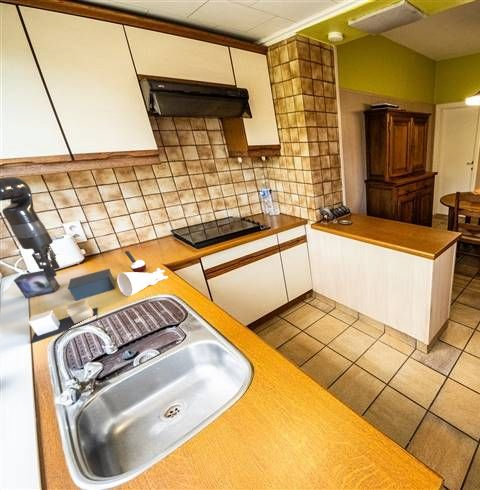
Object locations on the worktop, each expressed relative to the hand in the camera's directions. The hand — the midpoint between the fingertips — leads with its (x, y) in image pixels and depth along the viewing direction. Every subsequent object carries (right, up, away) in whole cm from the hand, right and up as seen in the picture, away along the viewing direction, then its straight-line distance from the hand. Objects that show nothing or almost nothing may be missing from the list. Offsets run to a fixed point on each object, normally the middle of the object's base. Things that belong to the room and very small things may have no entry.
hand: (54, 272), depth 103 cm
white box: (-4, -23, +2) cm, 23 cm away
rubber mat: (0, -21, +5) cm, 22 cm away
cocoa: (-5, -4, +45) cm, 46 cm away
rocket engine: (+13, -10, +29) cm, 33 cm away
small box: (-40, -13, +29) cm, 51 cm away
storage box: (-13, -12, +29) cm, 34 cm away
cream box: (+3, -20, +8) cm, 21 cm away
